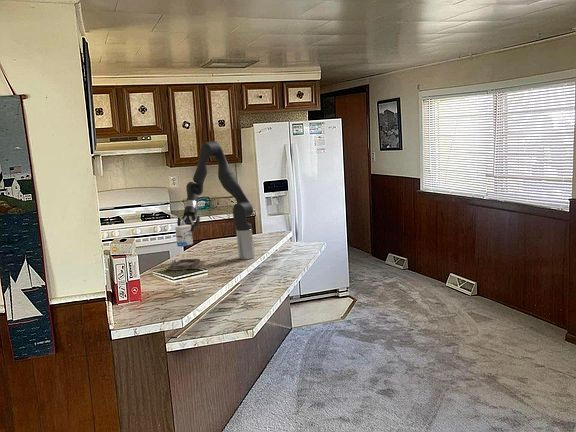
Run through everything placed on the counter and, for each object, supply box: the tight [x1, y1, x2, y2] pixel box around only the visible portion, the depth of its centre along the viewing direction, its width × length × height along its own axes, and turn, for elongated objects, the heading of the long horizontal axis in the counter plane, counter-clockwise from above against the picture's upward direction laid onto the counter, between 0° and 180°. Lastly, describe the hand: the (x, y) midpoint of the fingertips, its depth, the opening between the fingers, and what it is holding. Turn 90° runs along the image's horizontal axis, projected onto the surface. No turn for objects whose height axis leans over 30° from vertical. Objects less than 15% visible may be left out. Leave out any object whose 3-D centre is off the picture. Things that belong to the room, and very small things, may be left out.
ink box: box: [174, 224, 194, 248], centre depth 314 cm, size 9×5×12 cm, turn 141°
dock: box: [165, 258, 207, 270], centre depth 304 cm, size 18×18×4 cm
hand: (186, 231), depth 316 cm, fingers closed on ink box, 6 cm apart
